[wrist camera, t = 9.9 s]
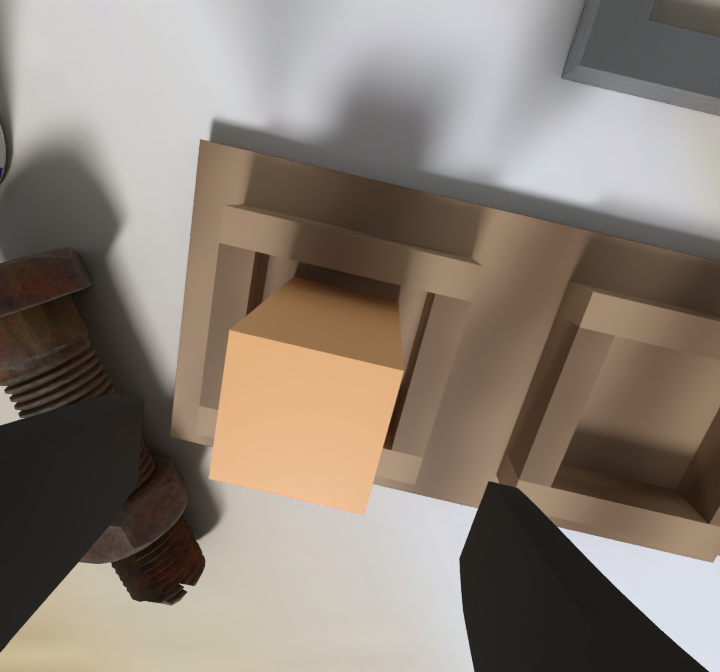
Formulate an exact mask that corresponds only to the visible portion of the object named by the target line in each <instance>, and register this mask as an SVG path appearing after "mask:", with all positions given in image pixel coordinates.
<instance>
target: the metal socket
mask: <svg viewBox="0 0 720 672" xmlns="http://www.w3.org/2000/svg"><path fill="white" fill-rule="evenodd" d="M655 1H656V0H586V3H585V6H584V9H583V12H582V15H581V18H580V21H579V24H578V28H577V31H576V34H575V37H574V40H573V43H572V46H571V49H570V52H569V55H568V59H567V62H566V65H565V68H564V71H563V74H562V77H561V78H562V79H567V80H571V81H575V82H579V83H584V84H588V85H592V86H596V87H600V88H605V89H609V90H613V91H617V92H621V93H626V94H630V95H634V96H638V97H642V98H647V99H651V100H655V101H659V102H664V103H668V104H672V105H676V106H680V107H685V108H689V109H693V110H697V111H701V112H706V113H710V114H714V115H718V116H720V37H718V36H714V35H710V34H706V33H702V32H697V31H693V30H689V29H685V28H681V27H676V26H672V25H668V24H664V23H660V22H655V21H651V20H649V17H650V15H651V12H652V9H653V7H654V4H655Z"/></svg>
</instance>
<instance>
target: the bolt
mask: <svg viewBox="0 0 720 672" xmlns="http://www.w3.org/2000/svg"><path fill="white" fill-rule="evenodd" d="M93 284H94V283H93V281H92V279H91V277H90V275H89V273H88V271H87V269H86V267H85V265H84V263H83V261H82V259H81V257H80V255H79V254H78V253H77V252H76V251H75V250H74V249H73V248H71V247H70V248H64V249H59V250H53V251H49V252H44V253H40V254H35V255H31V256H26V257H22V258H18V259H14V260H11V261H7V262H4V263H0V386H8V387H7V388H6V389H5V390H4V391H5V393H7V394H13V395H12V396H11V397H10V401H11V402H17V403H16V404H15V405H14V407H15V409H16V410H21V411H20V412H19V417H20V418H27V417H31V416H34V415H38V414H41V413H44V412H48V411H51V410H54V409H58V408H61V407H64V406H68V405H71V404H74V403H78V402H81V401H85V400H88V399H92V398H96V397H99V396H104V395H108V394H113V393H117V394H118V392H115V391H114V390H115V386H114V385H111V379H110V378H109V377H106V376H107V374H108V373H107V371H106V370H102V368H103V367H104V366H103V364H102V363H97V362H98V361H99V359H100V358H99V356H97V355H93V354H94V353H95V352H96V350H95V349H94V348H90V346H91V341H90V339H89V337H88V330H87V328H86V326H85V324H84V322H83V320H82V319H81V317H80V315H79V313H78V311H77V309H76V307H75V305H74V303H73V301H72V299H71V298H70V296H69V294H70V293H73V292H76V291H79V290H82V289H85V288H87V287H89V286H91V285H93ZM144 445H145V443H144V441H143V440H142V439H141V448H140V461H139V473H138V484H137V485H136V487H135V488H134V490H133V491H132V493H131V494H130V496H129V497H128V499H127V500H126V502H125V503H124V505H123V507H122V508H121V509H120V511H119V512H118V514H117V515H116V517H115V518H114V520H113V521H112V522H111V524H110V525H109V527H108V528H107V529H106V530H105V532H104V533H103V534H102V535H101V536H100V538H99V539H98V540H97V541H96V542H95V543H94V545H93V546H92V547H91V548H90V549H89V550H88V552H87V553H86V554H85V555H84V556H83V557H82V559H81V560H80V561H79V562H83V563H93V564H102V563H109V562H111V563H112V567H113V568H114V569H115V570H116V573H117V574H118V575H119V578H120V580H121V581H122V582H123V585H124V586H125V587H126V588H127V591H128V592H129V593H130V596H131V597H132V599H133V600H136V601H139V602H141V601H148V602H155V603H162V604H167V605H173V604H175V603H177V602H178V601H180V600H181V599H182V598H183V597H184V595H185V594H186V593H187V591H185V590H183V588H184V587H183V586H182V585H180V584H186V585H191V586H195V585H196V583H197V581H198V580H199V578H200V576H201V574H202V572H203V570H204V567H205V558H204V556H203V555H202V551H201V549H200V547H199V544H198V543H197V542H196V540H195V537H194V536H193V533H192V532H191V531H190V528H189V527H188V525H187V523H186V520H185V519H184V516H183V515H182V513H183V512H184V510H185V507H186V505H187V503H188V493H187V489H186V486H185V483H184V480H183V478H182V476H181V474H180V472H179V470H178V468H177V467H176V465H175V463H174V461H173V459H172V458H167V457H162V456H156V457H152V456H151V454H150V453H149V452H148V448H147V447H146V446H144ZM179 583H180V584H179Z"/></svg>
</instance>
